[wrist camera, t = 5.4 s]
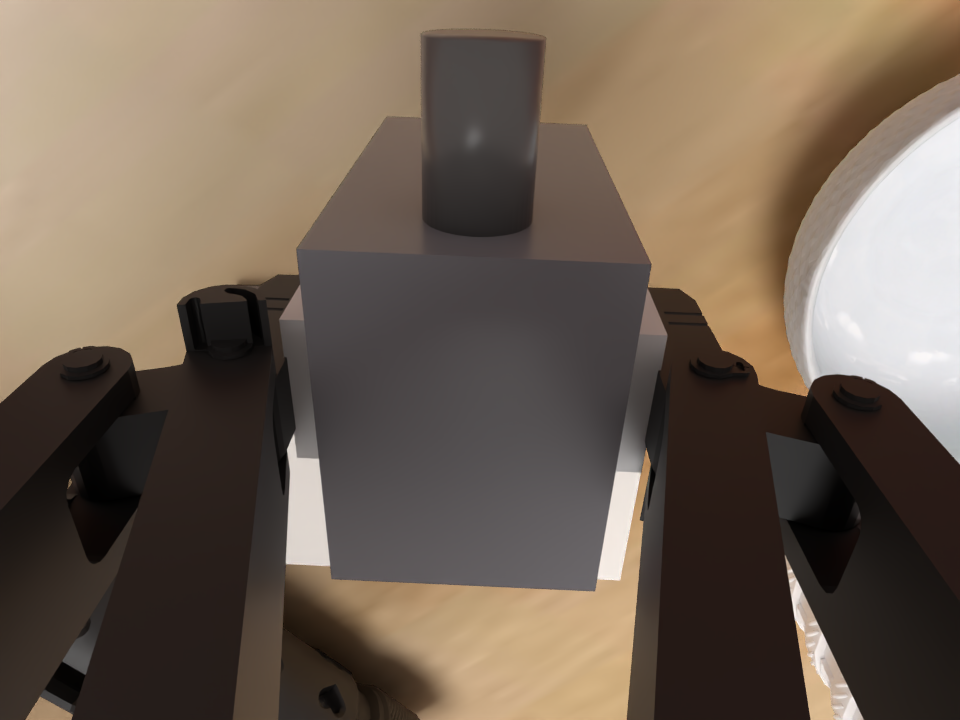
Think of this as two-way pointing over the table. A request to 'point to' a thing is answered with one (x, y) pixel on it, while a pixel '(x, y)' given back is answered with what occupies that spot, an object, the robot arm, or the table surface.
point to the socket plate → (311, 533)
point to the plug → (472, 333)
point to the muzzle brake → (303, 681)
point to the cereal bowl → (887, 264)
